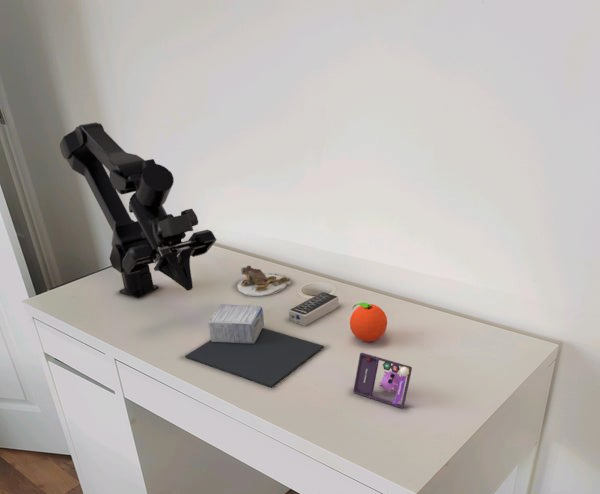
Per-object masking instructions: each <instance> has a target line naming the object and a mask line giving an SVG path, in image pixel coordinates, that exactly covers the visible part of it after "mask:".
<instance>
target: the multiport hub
mask: <svg viewBox="0 0 600 494" xmlns="http://www.w3.org/2000/svg"><path fill="white" fill-rule="evenodd" d="M339 303H340V301H339V296H338V295H335V294H333V293H329V292H326V291H322V292H320V293H318V294H316V295H314V296H311V297H310V298H309V299H306V300H305V301H303V302H301V303H299V304H297V305H295V306H294V307H292V308H290V309H289V310H288V312H289V321H290V322H291V323H295V324H298V325H301V326H304V327H305V326H308V325H310V324H312V323H314V322H315V321H318V320H319V319H320V318H322V317H325V316H326V315H327V314H329V313H331V312H333V311H335V310H336V309H338V308H339V306H340V305H339Z"/></svg>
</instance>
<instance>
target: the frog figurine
mask: <svg viewBox="0 0 600 494" xmlns="http://www.w3.org/2000/svg"><path fill="white" fill-rule="evenodd" d="M240 269H241V271H240V272H241V275H245V276H246V277H245V278H244V279H242V280H241V281H239V282H238V284H237V290H238V291H239V292H241V293H242V294H244V295H245V296H247V297H248V296H249V297H265V296H271V295H274V294H277V293H279V292H282V291H283V290H284V289H286V287H287V286H290V285H292V283H291V279H290V277H288V276H285V275H279V274H277V273H264V272H263V271H262V270H261V269H259V268H253V267H252V266H251V265H247V266H246V267H241V268H240Z"/></svg>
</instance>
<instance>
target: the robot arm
mask: <svg viewBox="0 0 600 494" xmlns="http://www.w3.org/2000/svg"><path fill="white" fill-rule="evenodd" d="M59 149H60V152H61V153H60V154H61V155H62V158H63V160H66V162H67V163H68V164H69V166H70V168H71V170H73V171H75V172H76V173H78V174H80V175H81V176H83V177H84V179H85V180H86V183H87V184H88V187H89V189H90V190H91V192H92V194H93V197H94V198H95V200H96V202H97V204H98V206H99V207H100V210H101V212H102V214H103V215H104V217H105V219H106V222H107V224H108V225H109V227H110V229H111V231H112V235H111V236H112V237H111V247H112V248H111V252H110V254H109V261H110V265H111V267H112V268H113V269H114V270H116V271H117V272H119V273H120V275H121V279H122V283H123V288H121V289H119V294H123V295H126V296H129V297H132V298H136V299H139V298H141V297H144V296H146V295H149V294H150V293H152V292H154V291H156V290H158V289H159V285H156V284H154V280H153V276H152V272H151V269H150V265H151V264H154V265H155V266H154V267H153V270H154V271H155V272H160V273H162V274H163V275H164V276H167V277H168V278H169V279H171V280H172V281H174V282H175V283H176V284H178V285H179V286H181V287H182V288H183V289H185V290H186V291H192V290H193V288H194V285H193V278H192V272H191V257H192V258H195V257H198V256H199V257H200V256H202V255H206V253H208V252H209V250H210V249H211V248H212V247H213V245H214V244H215V243H216V242H217V237H216V236H215V234H214V232H213V231H212V230H210V229H204V230H200V231H199V230H198V231H196V232H194V227H195V226H197V225H199V219H198V216H197V214H196V212H195V211H194V209H193V208H188V209H184V210H182V211H180V215H175V216H174V215H173V214H172V213H169V214H168V213H167V211H166V209H165V207H164V205H165V203H166V201H167V200H168V197H169V195H170V193H171V190H172V187H173V185H174V181H175V180H174V179H175V178H174V175H173V173H172V172H171V171H170V170H169V169H168V168H167V167H165V166H164V165H162V164H158V163H156V161H155V159H154V158H150V159H144V158H142V157H141V156H139V155H138V154H136V153H135V154H134V153H130V152H127V151H125V150H124V148H122V147H121V146H120V145H119V144H118V143H117V142H116V141H115V140H114V139H113V138H112V136H110V134H108V132H106V131H105V128H104V126H103V124H101V122H90V123H83V124H79V125H78V126H76V127H75V128H74V129H73V130H71V132H69V133H68V134H66V135H64V136H63V137H62V139H61V141H60V142H59ZM106 169H107V170H106ZM108 172H109V174H108ZM131 193H133V194H131ZM119 194H120V195H127V194H131V196H130V198H129V201H128V211H127V208H126V206H125V205H124V202H123V201H122V199H121V197H120V195H119ZM129 213H130V214H131V213H133V215H134V217H135V219H136V221H134V219H132V218H131V216H130V214H129ZM187 232H193V233H192V234H191V236H190V237H189V239H188V240H186V241H182V240H184V239H185V238H186V236H187V234H186V233H187Z"/></svg>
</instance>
